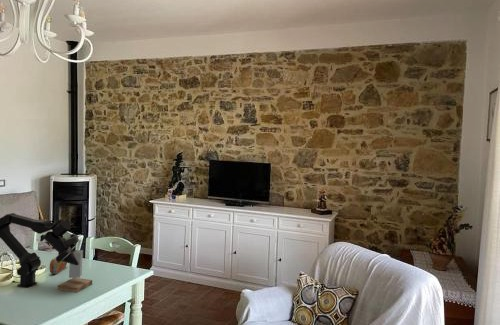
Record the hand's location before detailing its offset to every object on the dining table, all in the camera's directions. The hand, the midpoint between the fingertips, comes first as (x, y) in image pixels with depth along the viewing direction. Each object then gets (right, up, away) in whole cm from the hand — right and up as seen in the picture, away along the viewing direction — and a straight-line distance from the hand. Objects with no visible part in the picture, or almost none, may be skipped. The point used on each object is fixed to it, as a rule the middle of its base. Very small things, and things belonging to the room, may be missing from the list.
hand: (78, 263), depth 195 cm
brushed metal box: (-2, -7, 0) cm, 7 cm away
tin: (-21, -10, +21) cm, 31 cm away
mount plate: (-2, -12, 0) cm, 12 cm away
